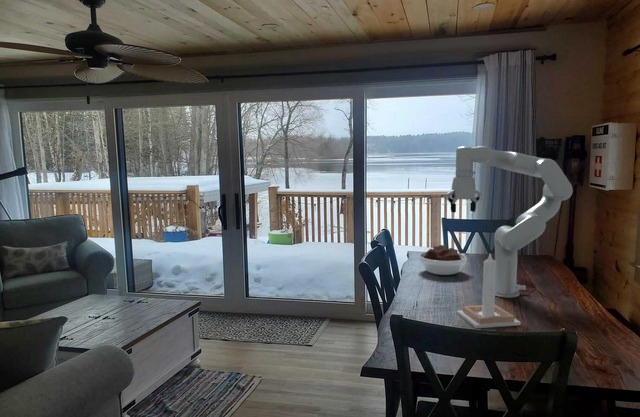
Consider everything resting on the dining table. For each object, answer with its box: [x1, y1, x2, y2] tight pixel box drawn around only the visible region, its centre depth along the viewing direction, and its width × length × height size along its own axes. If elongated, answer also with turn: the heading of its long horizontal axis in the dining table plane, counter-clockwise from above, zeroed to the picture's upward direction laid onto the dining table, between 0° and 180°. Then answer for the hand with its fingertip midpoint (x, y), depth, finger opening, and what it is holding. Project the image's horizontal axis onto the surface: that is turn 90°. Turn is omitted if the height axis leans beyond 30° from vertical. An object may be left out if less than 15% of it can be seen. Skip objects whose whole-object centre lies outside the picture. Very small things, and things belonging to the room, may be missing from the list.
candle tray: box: [456, 304, 522, 329], centre depth 177 cm, size 18×16×3 cm
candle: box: [478, 252, 498, 317], centre depth 175 cm, size 7×7×25 cm
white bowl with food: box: [418, 244, 468, 276], centre depth 245 cm, size 25×25×15 cm
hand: (463, 211), depth 206 cm, fingers open, 9 cm apart
